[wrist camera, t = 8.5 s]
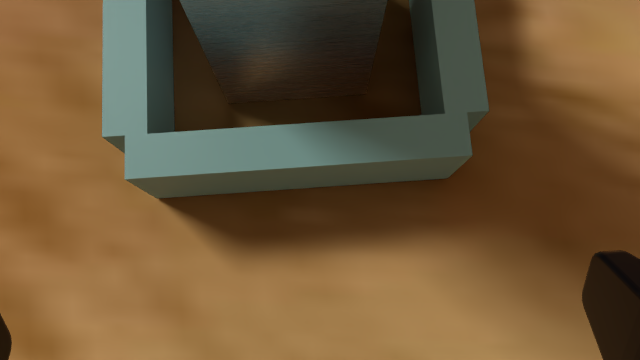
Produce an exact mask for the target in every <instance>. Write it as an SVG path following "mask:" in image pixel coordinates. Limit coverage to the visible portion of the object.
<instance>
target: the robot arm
mask: <svg viewBox="0 0 640 360" xmlns="http://www.w3.org/2000/svg"><path fill="white" fill-rule="evenodd" d="M582 301H583V306H584V309H585V312H586V315H587V317H588V320H589V323H590V325H591V328H592V331H593V333H594V336H595V339H596V342H597V344H598V347H599V350H600V352H601V355H602V358H603V360H640V259H638V258H637V257H635V256H633V255H631V254H630V253H628V252H626V251H621V250H617V251H603V252H598V253H595V254H594V256H593V257H592V259H591V262H590V266H589V269H588V273H587V276H586V280H585V284H584V287H583V292H582ZM11 345H12V341H11V335H10V332H9V330H8V328H7V326H6V324H5V322H4V320H3V318H2V316H1V314H0V360H8V359H9V356H10V352H11Z"/></svg>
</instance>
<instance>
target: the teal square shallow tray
mask: <svg viewBox="0 0 640 360" xmlns="http://www.w3.org/2000/svg"><path fill="white" fill-rule="evenodd" d="M409 6H410V15H411V24H412V33H413V42H414V51H415V60H416V69H417V78H418V87H419V96H420V105H421V114H422V115H419V116H404V117H389V118H374V119H359V120H345V121H330V122H315V123H300V124H285V125H271V126H256V127H241V128H226V129H211V130H197V131H182V132H175V124H174V75H173V26H172V0H103V83H102V137H103V138H104V139H106V140H107V141H108V142H110V143H111V144H113V145H114V146H115V147H117V148H118V149H119V150H121V151H122V152H124V153H125V180H127V181H129V182H130V183H132V184H134V185H135V186H137V187H139V188H140V189H142V190H144V191H145V192H147V193H149V194H150V195H152V196H154V197H155V198H170V197H185V196H199V195H214V194H228V193H243V192H257V191H271V190H286V189H300V188H315V187H329V186H344V185H358V184H373V183H387V182H401V181H416V180H430V179H445V178H448V177H450V176H451V175H452V174H453V173H454V172H455V171H456V170H457V169H458V168H459V167H460V166H462V165H463V164H464V163H465V162H466V161H467V160H468V159H469V158H470V157H471V156H473V154H472V146H471V139H470V131H471V130H472V129H473V128H474V127H475V126H476V125H477V124H478V122H479V121H480V120H481V119H482V118H483V117H484V116H485V115H486V114H487V113H488V112H489V105H488V98H487V91H486V83H485V76H484V69H483V61H482V54H481V47H480V39H479V32H478V25H477V17H476V10H475V3H474V0H409Z"/></svg>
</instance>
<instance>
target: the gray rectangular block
mask: <svg viewBox="0 0 640 360" xmlns="http://www.w3.org/2000/svg"><path fill="white" fill-rule="evenodd" d="M180 3H181V5H182V7H183V9H184V11H185V13H186V15H187V17H188V19H189V22H190V24H191V26H192V28H193V30H194V32H195V34H196V36H197V38H198V40H199V43H200V45H201V47H202V49H203V51H204V53H205V55H206V57H207V59H208V62H209V64H210V66H211V68H212V70H213V72H214V74H215V76H216V78H217V81H218V83H219V85H220V87H221V89H222V91H223V93H224V95H225V97H226V99H227V102H228V104H230V103H245V102H260V101H274V100H289V99H304V98H319V97H334V96H349V95H363V94H366V92H367V87H368V83H369V79H370V74H371V70H372V66H373V61H374V57H375V53H376V48H377V44H378V40H379V35H380V31H381V26H382V22H383V18H384V13H385V9H386V5H387V0H180Z"/></svg>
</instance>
